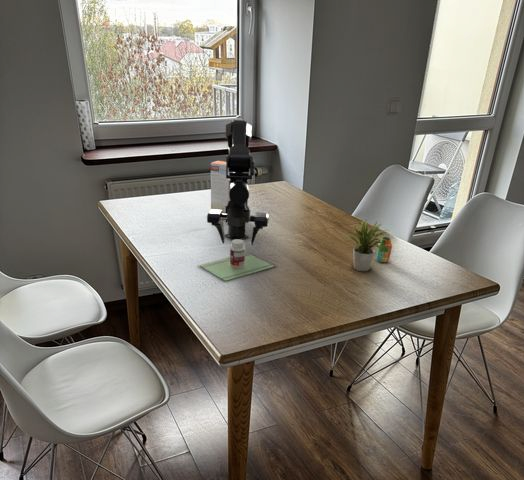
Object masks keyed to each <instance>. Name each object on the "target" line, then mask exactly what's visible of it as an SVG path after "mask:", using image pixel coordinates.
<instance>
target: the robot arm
mask: <svg viewBox="0 0 524 480" xmlns="http://www.w3.org/2000/svg"><path fill="white" fill-rule="evenodd" d="M225 139H226V140H227V147H228V155H225V162H226V179H229V198H228V205H227V206H226V214H224V213H222V210H216V209H211V208H210V210H209V211H208V212H207V214H206V215H207V216H206V222H207V224H211V226H213V227H215V229H216V230H217V232H218V234H219V237H220V240H221V242H222V244H223V245H224V244H225V237H226V238H227V239H230V240H231V241H232V240H235V239H240V240H244V239H247V238H249V236H248V235H247V234H246V223H247V224H249V223H254V224H253V227H252V235H251V239H250V246H253V245H254V242H255V240H256V236H257V234H258V233H259V231H260V230H263V229H264V228H267V227H268V224H269V217H270V216H269V214H268V213H267V212H260V211H259V212H255V214H254V215H251V209H250V207H249V205H248V203H249V198H250V197H249V196H250V190H249V180H253V177H254V176H255V160H254V157H253V156H251V151H250V148H249V145H250V141H251V140H252V125H251V124H249V123H248V121H246V120H242V119H239V120H238V119H233V120H230V122H229V123H226V124H225ZM228 168H229V172H232V173H229V174H228ZM224 221H225V222H224ZM225 223H226V224H227V226H228V227H227V233H226V234H225Z"/></svg>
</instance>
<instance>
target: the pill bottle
mask: <svg viewBox="0 0 524 480" xmlns="http://www.w3.org/2000/svg"><path fill="white" fill-rule="evenodd" d="M230 245H231V246H230V248H229V258H230V266H231V267H233V268H242V267H244V265H245V254H246V247H245V241H244V239H235V240H232V239H231V243H230Z"/></svg>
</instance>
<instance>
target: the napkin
mask: <svg viewBox="0 0 524 480" xmlns="http://www.w3.org/2000/svg"><path fill="white" fill-rule="evenodd" d="M199 267H200V268H202V269H203V270H205V271H207V272H209V273H211V274H212V275H214V276H215V277H217V278H219V279H221V280H222V281H224V282H227V281H230V280H234V279H239V278H241V277H245V276H249V275H252V274H255V273H259V272H262V271H265V270H269V269H272V268H275V266H274V265H272V264H270V263H268V262H266V261H265V260H263V259H261V258H260V257H259V258H258V257H257V256H254V255H252V254H250V253H245V265H244V267H242V268H233V267H231V266H230V257H229V258H228V257H227V258H224V259H221V260H215V261H213V262H209V263H205V264H201V265H199Z"/></svg>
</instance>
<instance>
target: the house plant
mask: <svg viewBox="0 0 524 480" xmlns="http://www.w3.org/2000/svg"><path fill="white" fill-rule="evenodd" d="M377 224H378V221H376V222H375V223H374V224H373V225H372V227H371V228H370V229H369V227H368V220H367V219H365V222H364V220H363V219H361V224H360V226H358V227H360V230H358V228H357V227H356V226H355V225H354V224H352V227H353V228H354V230H353V229H352V230H353V232H354V233H355V234H356V237H357V238H358V240H357V238H355V237H354V236H353V235H348V236H347V238H348V239H351V240H352V241H354V242H355V246H354V248H353V249H352V251H353V269H354V270H356V271H359V272H368V271H369V270H370V268H371V265H372V262H373V260H374V256H375V252H376V250H374V249H373V248H374V247H377V249H378V248H379V249H380V247H379V245H378V244H379V243H383V242H381V241H382V240H385V239H382V240H381V239H380V238H378V237H379V236H382V235H383V236H384V235H386V234H388V232H387V231H388V229H384V230H381V231H378V230H379V228H380V227H381V226H382V225H383V223H380V224H378V225H377Z"/></svg>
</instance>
